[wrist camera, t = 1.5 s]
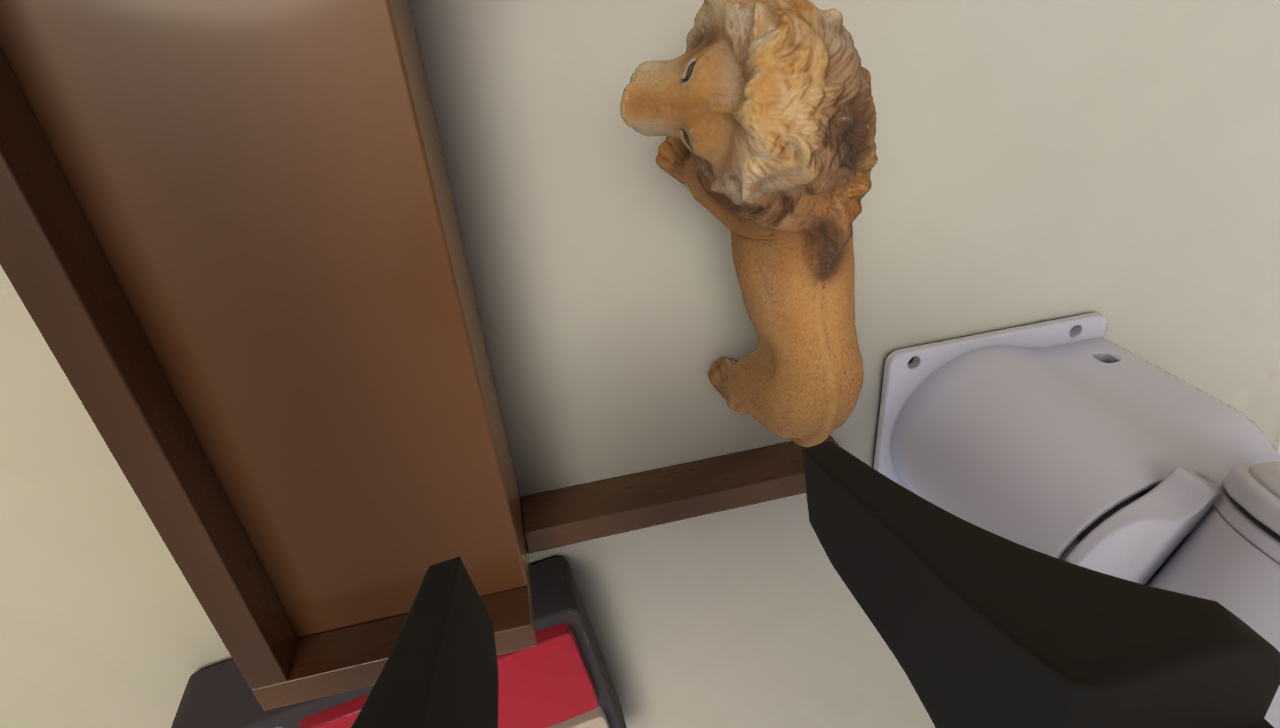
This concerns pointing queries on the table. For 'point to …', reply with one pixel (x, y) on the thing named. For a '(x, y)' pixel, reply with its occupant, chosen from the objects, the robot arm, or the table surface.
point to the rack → (287, 322)
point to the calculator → (528, 678)
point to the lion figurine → (774, 191)
